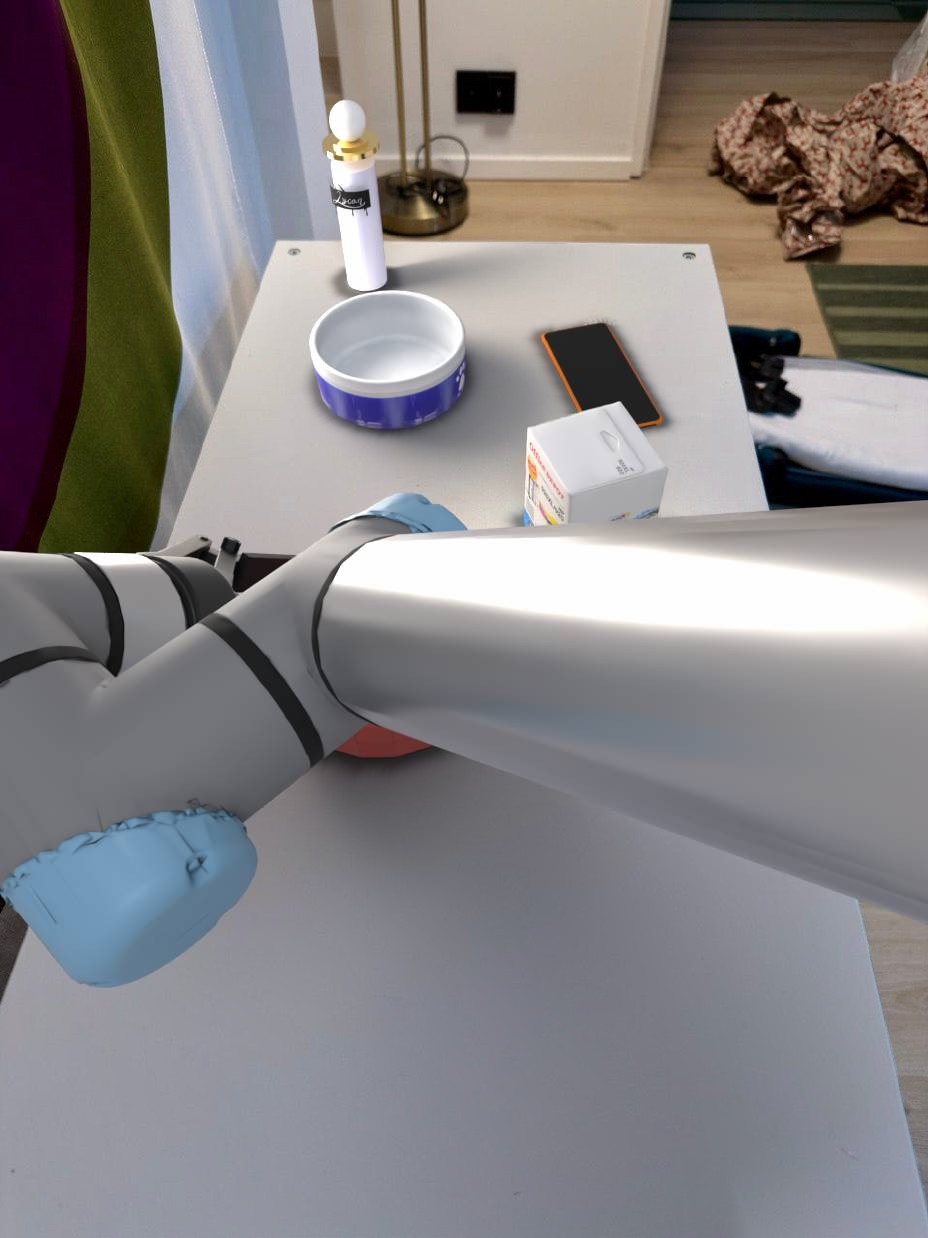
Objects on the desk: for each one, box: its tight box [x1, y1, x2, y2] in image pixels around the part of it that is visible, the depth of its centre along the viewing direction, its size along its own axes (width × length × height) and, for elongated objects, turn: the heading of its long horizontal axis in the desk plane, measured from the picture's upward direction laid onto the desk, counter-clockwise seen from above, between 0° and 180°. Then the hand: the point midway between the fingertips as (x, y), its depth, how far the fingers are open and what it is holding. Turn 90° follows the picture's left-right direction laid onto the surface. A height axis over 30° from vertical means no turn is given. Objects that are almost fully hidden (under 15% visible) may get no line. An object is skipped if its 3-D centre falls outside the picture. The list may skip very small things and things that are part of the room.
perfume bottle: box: [321, 99, 388, 292], centre depth 95 cm, size 6×6×20 cm
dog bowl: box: [309, 290, 467, 430], centre depth 90 cm, size 15×15×6 cm
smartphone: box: [540, 321, 664, 429], centre depth 91 cm, size 8×17×1 cm, turn 14°
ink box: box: [523, 402, 669, 526], centre depth 74 cm, size 9×8×12 cm
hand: (366, 616), depth 64 cm, fingers open, 13 cm apart
